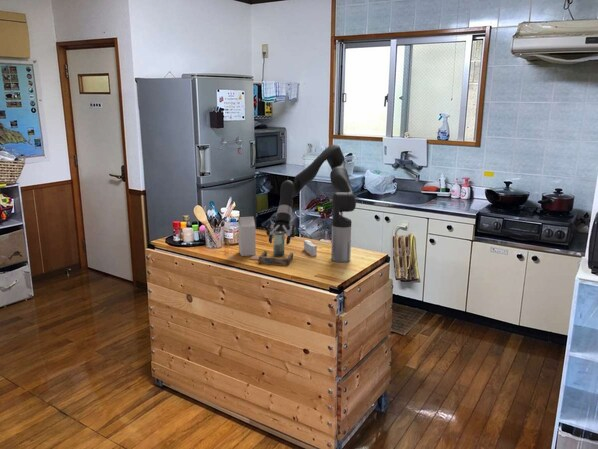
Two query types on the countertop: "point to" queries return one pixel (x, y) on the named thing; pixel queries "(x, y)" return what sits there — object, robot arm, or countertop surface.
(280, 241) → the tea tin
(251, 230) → the milk carton
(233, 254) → the countertop surface
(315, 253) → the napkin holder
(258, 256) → the terracotta tag
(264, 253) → the dock
